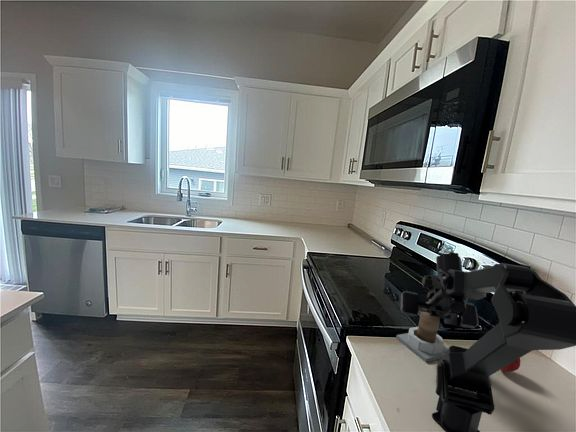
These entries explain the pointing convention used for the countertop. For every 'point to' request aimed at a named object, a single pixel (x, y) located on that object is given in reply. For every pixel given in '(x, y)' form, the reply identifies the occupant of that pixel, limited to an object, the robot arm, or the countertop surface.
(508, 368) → the onion
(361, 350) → the countertop surface
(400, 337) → the dock
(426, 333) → the mill
